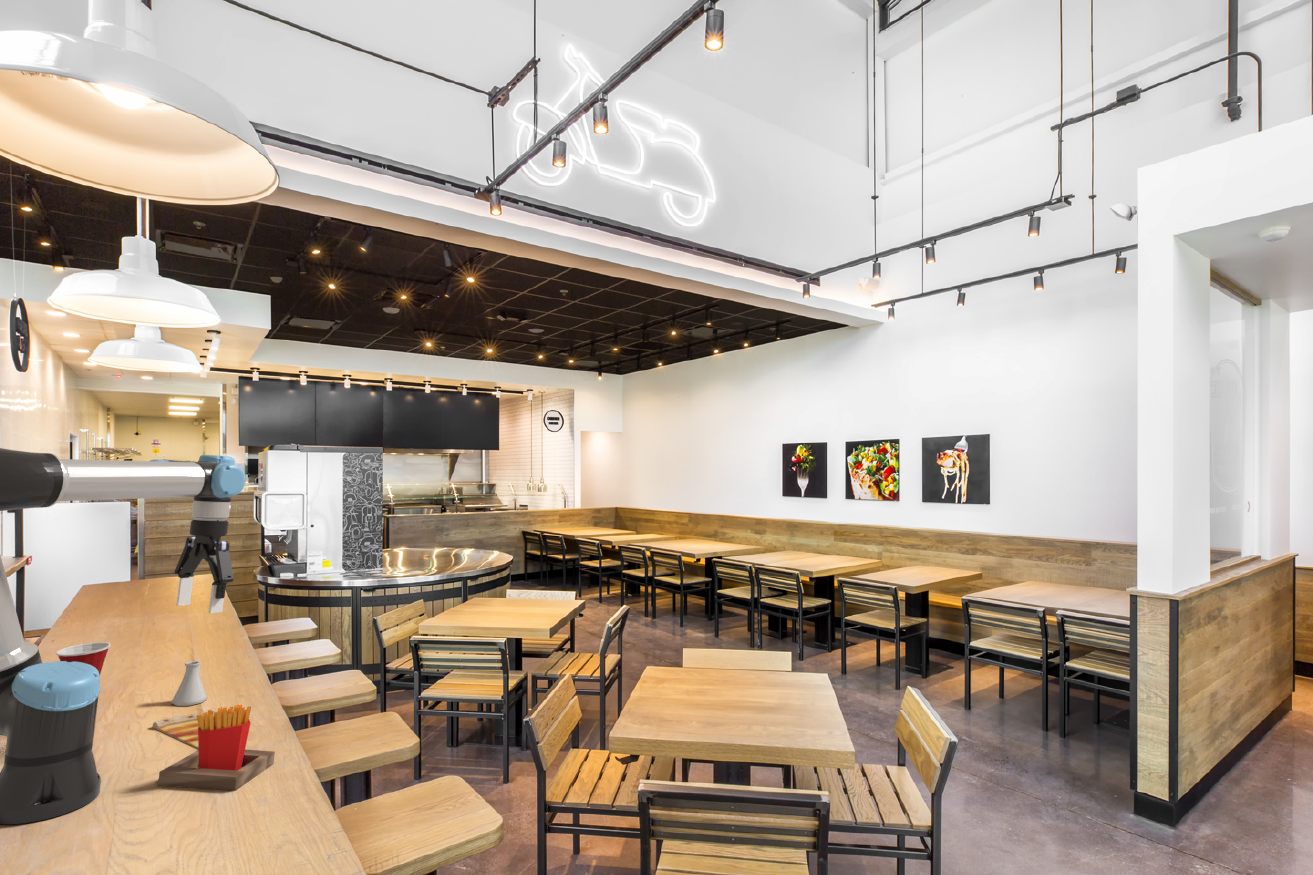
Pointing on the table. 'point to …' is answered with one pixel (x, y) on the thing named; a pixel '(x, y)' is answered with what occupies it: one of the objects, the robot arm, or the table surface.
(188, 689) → the flask
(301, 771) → the table surface
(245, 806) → the table surface
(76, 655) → the plastic cup
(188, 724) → the pizza slice
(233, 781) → the fry holder
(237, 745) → the french fries
